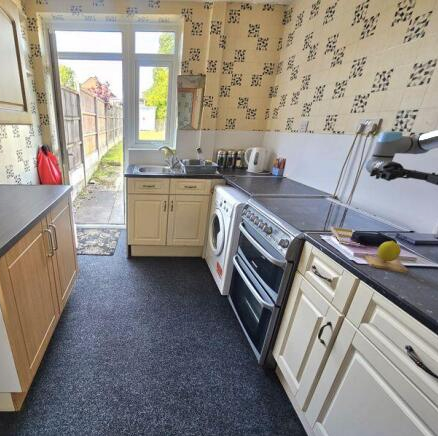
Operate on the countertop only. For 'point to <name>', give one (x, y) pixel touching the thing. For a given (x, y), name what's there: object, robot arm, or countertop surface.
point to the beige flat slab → (343, 234)
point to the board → (386, 264)
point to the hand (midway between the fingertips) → (414, 179)
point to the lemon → (389, 251)
